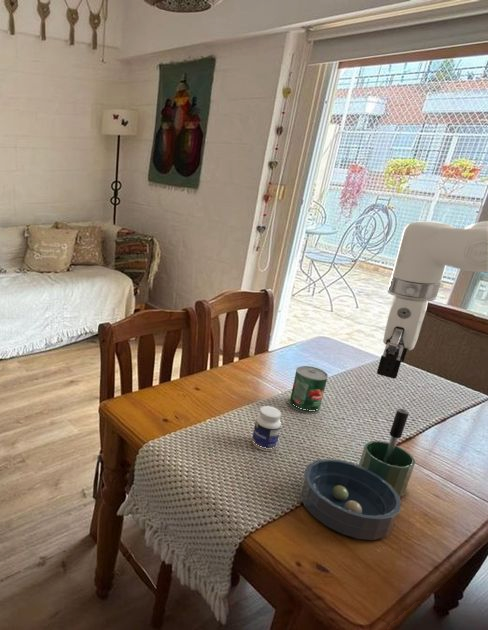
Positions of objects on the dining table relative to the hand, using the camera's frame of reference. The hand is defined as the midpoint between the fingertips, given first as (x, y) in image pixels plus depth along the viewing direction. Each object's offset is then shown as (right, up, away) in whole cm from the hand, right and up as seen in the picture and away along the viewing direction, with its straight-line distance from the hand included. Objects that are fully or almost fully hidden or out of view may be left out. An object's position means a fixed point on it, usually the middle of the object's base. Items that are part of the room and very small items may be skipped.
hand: (390, 367), depth 90 cm
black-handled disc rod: (+3, -26, +8) cm, 28 cm away
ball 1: (-9, -27, +2) cm, 28 cm away
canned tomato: (+2, -16, +37) cm, 40 cm away
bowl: (-9, -30, +1) cm, 31 cm away
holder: (+3, -27, +8) cm, 28 cm away
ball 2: (-9, -28, -2) cm, 30 cm away
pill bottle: (-17, -22, +21) cm, 35 cm away
